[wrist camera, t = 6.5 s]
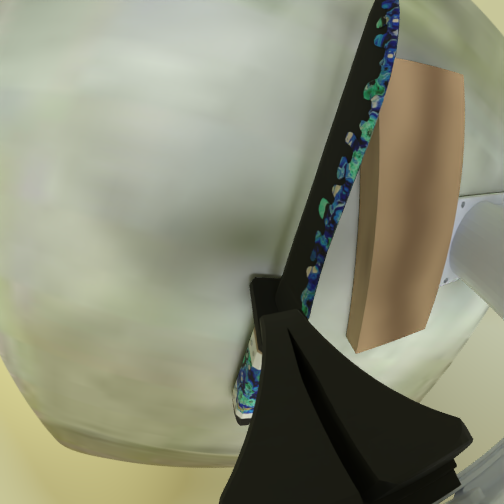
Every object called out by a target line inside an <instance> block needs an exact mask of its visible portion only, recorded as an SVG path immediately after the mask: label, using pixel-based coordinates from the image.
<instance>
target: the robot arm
mask: <svg viewBox="0 0 504 504" xmlns="http://www.w3.org/2000/svg"><path fill="white" fill-rule="evenodd" d="M459 279H461V280H462V281H464V282H465V283H466V284H467V285H468V286H469V287H470V288H471V289H472V290H473V291H474V292H476V293H477V294H478V295H479V296H480V297H481V298H482V299H483V300H484V301H485V302H486V303H487V304H488V305H489V306H490V307H491V308H492V309H493V310H494V311H495V312H496V313H497V314H498V315H499V316H500V317H501V318H502V319H503V320H504V192H501V193H492V194H482V195H473V196H465V197H459V198H458V204H457V210H456V216H455V222H454V227H453V232H452V237H451V241H450V246H449V250H448V254H447V259H446V262H445V266H444V270H443V274H442V277H441V281H440V284H439V286H443V285H445V284H448V283H451V282H454V281H456V280H459ZM259 320H260V328H261V336H262V344H263V347H262V364H261V372H260V379H259V386H258V391H257V397H256V401H255V406H254V410H253V414H252V417H251V421H250V425H249V428H248V431H247V435H246V438H245V441H244V443H243V446H242V449H241V451H240V454H239V457H238V459H237V462H236V464H235V467H234V469H233V472H232V474H231V476H230V478H229V480H228V482H227V484H226V486H225V488H224V490H223V492H222V494H221V497H220V501H219V504H439V503H440V502H442V501H443V500H445V499H446V498H448V497H449V496H451V495H452V494H454V493H455V495H454V498H453V499H452V500H450V501H448V502H446V503H444V504H504V438H503V439H502V440H500V441H499V442H498V443H497V444H496V445H495V446H493V447H492V448H491V449H490V450H489V451H487V452H486V453H485V454H484V455H482V456H481V457H480V458H479V459H477V460H476V461H475V462H473V463H472V464H471V465H469V466H468V467H467V468H465V469H464V470H463V471H461V472H459V473H458V474H457V475H456V473H455V471H454V468H455V467H457V465H456V463H455V461H454V458H455V457H456V456H458V455H459V454H460V453H461V452H462V451H464V450H465V449H466V448H467V447H468V446H469V445H470V444H471V443H472V442H473V438H472V436H471V435H470V433H469V431H468V429H467V427H466V426H465V425H464V423H463V422H462V421H461V419H460V418H457V417H454V416H451V415H448V414H445V413H442V412H439V411H437V410H434V409H431V408H429V407H426V406H424V405H422V404H420V403H417V402H415V401H413V400H411V399H409V398H407V397H405V396H404V395H402V394H400V393H398V392H396V391H394V390H392V389H390V388H389V387H387V386H385V385H384V384H382V383H381V382H379V381H377V380H376V379H374V378H373V377H372V376H370V375H369V374H367V373H366V372H364V371H363V370H362V369H360V368H359V367H358V366H356V365H355V364H354V363H353V362H351V361H350V360H349V359H348V358H346V357H345V356H344V355H343V354H342V353H341V352H339V351H338V350H337V349H336V348H335V347H334V346H333V345H332V344H331V343H330V342H328V341H327V340H326V339H325V338H324V337H323V336H322V335H321V334H320V333H319V332H318V331H317V330H316V329H315V328H314V327H313V326H312V325H311V323H310V322H309V321H308V320H307V319H306V318H305V317H304V316H303V315H302V313H301V312H300V311H299V310H298V309H292V310H288V311H283V312H278V313H273V314H268V315H263V316H262V317H261V318H260V319H259Z"/></svg>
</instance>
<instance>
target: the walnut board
mask: <svg viewBox="0 0 504 504" xmlns="http://www.w3.org/2000/svg"><path fill="white" fill-rule="evenodd" d="M464 128H465V100H464V78H463V75H462V74H458V73H455V72H452V71H449V70H445V69H441V68H438V67H434V66H430V65H426V64H422V63H417V62H413V61H408V60H403V59H398V58H395V60H394V65H393V69H392V73H391V77H390V81H389V84H388V88H387V91H386V94H385V97H384V101H383V104H382V107H381V110H380V113H379V116H378V119H377V122H376V125H375V127H374V130H373V133H372V136H371V139H370V141H369V144H368V147H367V149H366V152H365V155H364V157H363V160H362V163H361V165H360V205H359V224H358V240H357V252H356V263H355V273H354V283H353V291H352V299H351V307H350V314H349V321H348V328H347V334H346V337H347V339H348V341H349V342H350V344H351V346H352V348H353V349H354V351H355V353H356V354H357V353H360V352H363V351H366V350H369V349H372V348H375V347H378V346H381V345H383V344H386V343H389V342H392V341H394V340H397V339H400V338H402V337H405V336H408V335H410V334H413V333H415V332H418V331H420V330H423V329H425V327H426V324H427V321H428V318H429V316H430V313H431V310H432V307H433V304H434V301H435V297H436V294H437V291H438V288H439V284H440V281H441V277H442V274H443V270H444V266H445V262H446V259H447V254H448V250H449V246H450V241H451V237H452V232H453V227H454V222H455V216H456V210H457V204H458V198H459V190H460V183H461V174H462V163H463V150H464Z"/></svg>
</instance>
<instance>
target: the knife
mask: <svg viewBox="0 0 504 504" xmlns="http://www.w3.org/2000/svg"><path fill="white" fill-rule="evenodd" d="M399 15H400V7H399V0H375V2H374V4H373V6H372V9H371V11H370V13H369V16H368V19H367V22H366V25H365V28H364V31H363V34H362V37H361V40H360V43H359V46H358V49H357V52H356V55H355V58H354V61H353V64H352V67H351V70H350V73H349V76H348V79H347V82H346V85H345V88H344V91H343V94H342V97H341V100H340V103H339V106H338V109H337V112H336V115H335V118H334V121H333V124H332V127H331V130H330V133H329V136H328V139H327V142H326V145H325V148H324V151H323V154H322V157H321V160H320V163H319V166H318V170H317V173H316V176H315V179H314V182H313V185H312V188H311V191H310V194H309V197H308V200H307V203H306V206H305V209H304V212H303V214H302V217H301V220H300V223H299V226H298V229H297V232H296V235H295V238H294V241H293V244H292V247H291V250H290V253H289V256H288V259H287V262H286V266H285V269H284V272H283V275H282V278H281V279H274V278H256V277H255V278H254V279H253V280H252V282H251V283H250V285H249V286H250V294H251V301H252V309H253V316H254V323H255V326H254V329H253V332H252V335H251V338H250V341H249V344H248V347H247V350H246V353H245V356H244V359H243V362H242V365H241V368H240V371H239V374H238V377H237V380H236V383H235V386H234V389H233V397H232V400H233V407H234V414H235V417H236V420H237V423H238V424H239V425H240V426H242V425H249V423H250V421H251V417H252V414H253V410H254V406H255V401H256V397H257V391H258V386H259V379H260V372H261V364H262V347H263V344H262V336H261V328H260V320H259V319H260V318H261V317H262V316H263V315H268V314H273V313H278V312H283V311H288V310H292V309H298V310H299V311H300V312H301V313H302V315H303V316H304V317H305V318H306V319H307V320H308V319H309V317H310V313H311V308H312V304H313V300H314V296H315V292H316V289H317V285H318V281H319V278H320V274H321V271H322V268H323V264H324V261H325V258H326V254H327V251H328V249H329V246H330V243H331V241H332V238H333V236H334V233H335V230H336V228H337V225H338V222H339V220H340V217H341V215H342V212H343V209H344V207H345V204H346V202H347V199H348V196H349V194H350V191H351V189H352V186H353V183H354V181H355V178H356V176H357V173H358V170H359V168H360V165H361V163H362V160H363V157H364V155H365V152H366V149H367V147H368V144H369V141H370V139H371V136H372V133H373V130H374V127H375V125H376V122H377V119H378V116H379V113H380V110H381V107H382V104H383V101H384V97H385V94H386V91H387V88H388V84H389V81H390V77H391V73H392V69H393V65H394V60H395V56H396V50H397V42H398V34H399Z"/></svg>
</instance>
